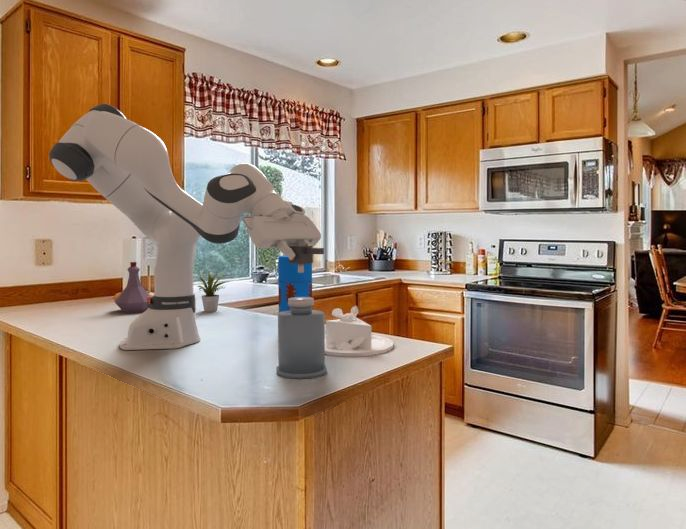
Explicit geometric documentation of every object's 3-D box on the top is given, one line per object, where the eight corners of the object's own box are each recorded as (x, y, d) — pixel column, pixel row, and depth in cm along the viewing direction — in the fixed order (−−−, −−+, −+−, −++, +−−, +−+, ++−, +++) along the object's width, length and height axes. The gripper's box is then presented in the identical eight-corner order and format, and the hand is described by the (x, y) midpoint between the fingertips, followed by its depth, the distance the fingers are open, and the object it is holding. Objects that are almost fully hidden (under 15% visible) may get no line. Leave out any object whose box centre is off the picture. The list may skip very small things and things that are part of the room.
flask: (163, 310, 210) (162, 261, 208) (124, 315, 197) (122, 264, 196) (144, 306, 221) (142, 260, 219) (106, 311, 208) (104, 262, 207)
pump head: (288, 272, 119) (288, 246, 118) (300, 271, 122) (300, 245, 122) (316, 274, 114) (316, 247, 113) (327, 273, 117) (327, 246, 116)
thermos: (307, 337, 158) (306, 257, 156) (274, 335, 160) (273, 256, 158) (315, 330, 169) (315, 255, 167) (285, 329, 171) (284, 254, 169)
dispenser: (265, 372, 120) (264, 299, 119) (300, 362, 130) (299, 293, 128) (303, 382, 113) (302, 304, 111) (337, 370, 122) (336, 298, 121)
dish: (291, 345, 150) (291, 307, 149) (357, 333, 165) (357, 299, 164) (342, 362, 130) (342, 319, 129) (411, 348, 145) (411, 309, 145)
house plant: (211, 315, 198) (210, 273, 196) (184, 312, 204) (183, 272, 202) (234, 309, 211) (233, 270, 209) (208, 307, 216) (207, 269, 215)
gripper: (246, 205, 114) (277, 249, 109) (307, 207, 130) (337, 246, 125) (233, 225, 117) (263, 269, 112) (294, 225, 133) (323, 263, 128)
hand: (302, 257), depth 119 cm, fingers closed on pump head, 4 cm apart
